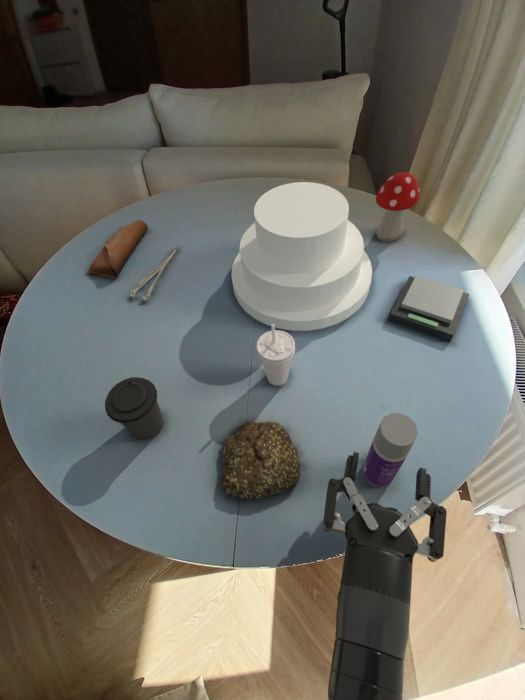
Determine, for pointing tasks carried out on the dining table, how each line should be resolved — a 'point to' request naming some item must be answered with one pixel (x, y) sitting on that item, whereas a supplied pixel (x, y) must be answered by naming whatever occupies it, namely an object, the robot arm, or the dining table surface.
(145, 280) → the jawbone
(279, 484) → the bread roll
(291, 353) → the smoothie
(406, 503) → the dining table surface
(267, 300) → the cake
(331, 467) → the dining table surface
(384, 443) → the container
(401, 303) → the scale
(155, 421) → the coffee cup
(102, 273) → the sunglasses case
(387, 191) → the decorative mushroom
